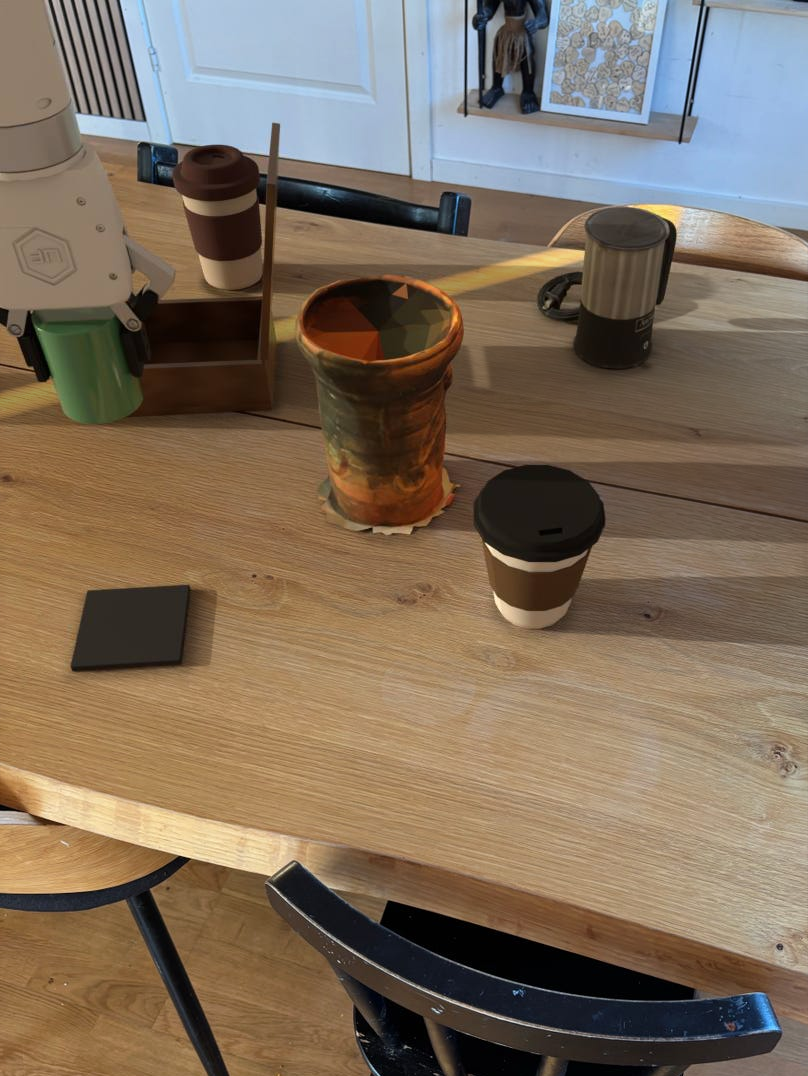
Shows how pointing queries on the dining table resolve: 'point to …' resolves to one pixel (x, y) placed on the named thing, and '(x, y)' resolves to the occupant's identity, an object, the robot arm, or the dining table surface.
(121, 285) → the robot arm
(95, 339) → the green cylinder
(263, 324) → the lid
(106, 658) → the mat
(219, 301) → the chest
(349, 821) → the dining table surface
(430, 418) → the vessel
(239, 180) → the coffee cup
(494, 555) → the coffee cup
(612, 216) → the milk frother
